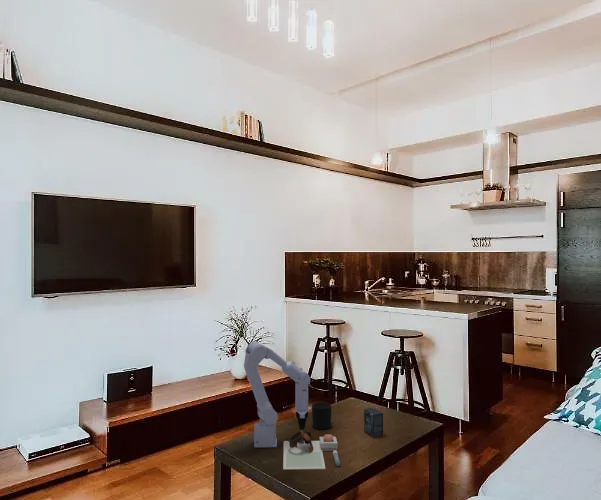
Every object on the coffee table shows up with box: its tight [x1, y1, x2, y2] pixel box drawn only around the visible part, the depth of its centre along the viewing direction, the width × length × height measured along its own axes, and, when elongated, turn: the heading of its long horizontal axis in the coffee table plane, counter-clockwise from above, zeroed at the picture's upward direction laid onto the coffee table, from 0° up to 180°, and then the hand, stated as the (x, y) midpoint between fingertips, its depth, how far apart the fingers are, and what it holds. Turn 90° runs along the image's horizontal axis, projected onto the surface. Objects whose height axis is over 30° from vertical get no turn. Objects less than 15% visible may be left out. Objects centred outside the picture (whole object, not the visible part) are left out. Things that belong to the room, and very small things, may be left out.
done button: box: [323, 433, 334, 442], centre depth 189 cm, size 4×4×3 cm
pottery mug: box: [287, 429, 313, 453], centre depth 187 cm, size 12×10×8 cm
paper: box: [282, 440, 326, 471], centre depth 182 cm, size 16×26×1 cm, turn 2°
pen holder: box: [311, 401, 332, 430], centre depth 213 cm, size 9×9×10 cm
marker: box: [332, 450, 341, 467], centre depth 176 cm, size 2×10×2 cm, turn 2°
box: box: [363, 407, 384, 438], centre depth 204 cm, size 8×6×11 cm
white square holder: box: [319, 436, 338, 452], centre depth 189 cm, size 7×7×3 cm
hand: (301, 428), depth 199 cm, fingers closed
